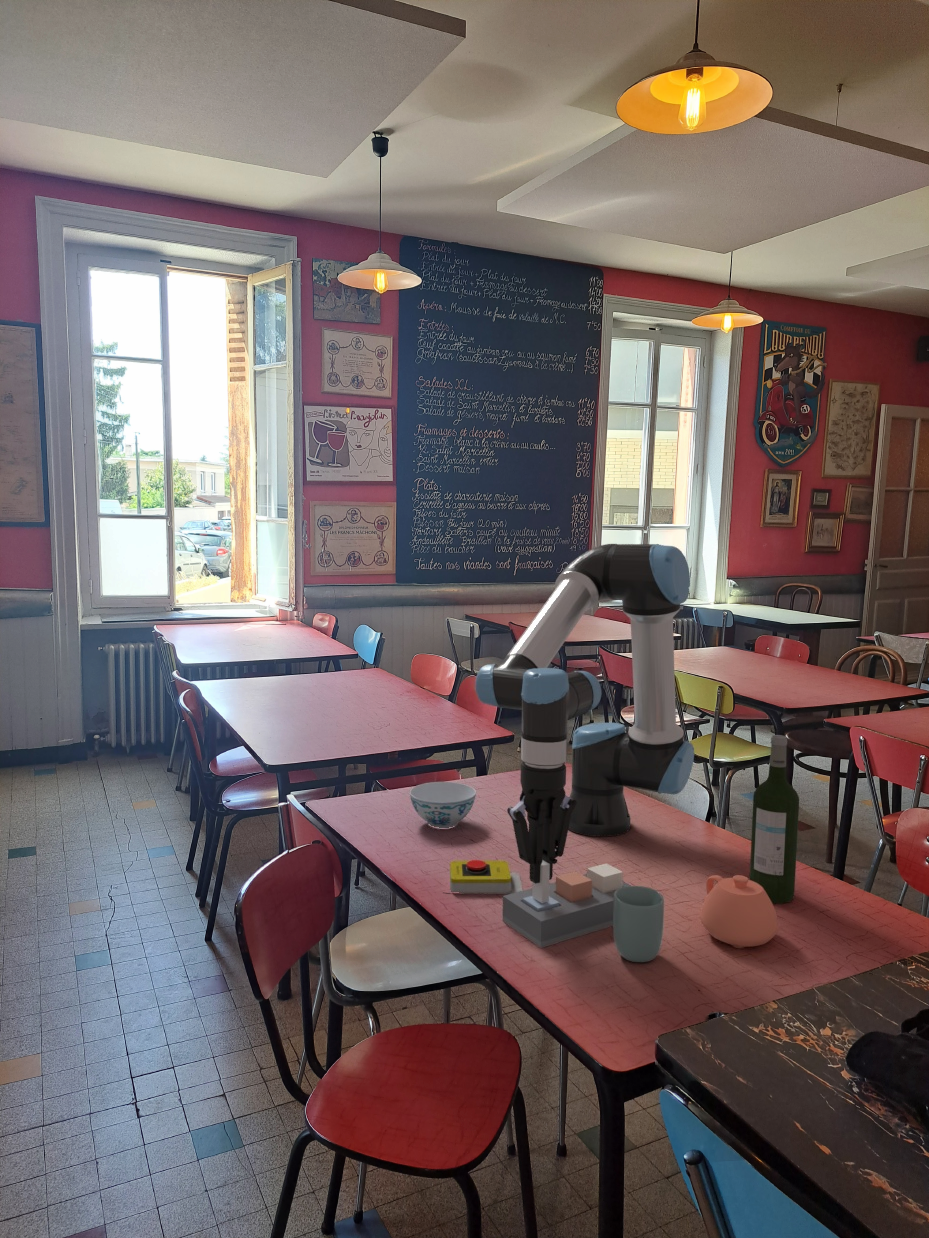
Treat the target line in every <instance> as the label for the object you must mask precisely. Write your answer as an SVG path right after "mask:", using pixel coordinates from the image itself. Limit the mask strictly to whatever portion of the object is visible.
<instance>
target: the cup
mask: <svg viewBox="0 0 929 1238" xmlns="http://www.w3.org/2000/svg"><path fill="white" fill-rule="evenodd" d="M664 923H665V899H664V896H663V894H661V892H659V891H658V890H656V889H654V888H651V887H649V886H648V887H647V886H643V885H642V886H641V885H631V886H626V887H622V888H619V889H617V890H616V891H615V893H614V903H613V926H612V928H613V929H612V930H613V931H612V932H613V940H614V941H613V942H614V945H615V947H616V951H617V952H618V953H619V955H620V956H621V957H623V958H624V959H625V960H627V961H630V962H633V963H647V962H650V961H653V960H654V959H655V958H656V957H657V956H658V954H659V952H660V950H661V946H662V941H663V937H664V936H663V935H664V925H665V924H664Z"/></svg>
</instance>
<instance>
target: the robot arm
mask: <svg viewBox="0 0 929 1238" xmlns="http://www.w3.org/2000/svg"><path fill="white" fill-rule="evenodd" d="M690 573H691V572H690V568H689V564H688V560H687V558H686V556H685V555H684V553H683V552H682V550H681V549H679V548H678V547H677V546H673V545H664V544H658V543H647V544H645V543H639V544H638V543H636V544H635V543H634V544H633V543H630V544H629V543H618V544H617V543H606V544H602V545H599V546H598V545H597V546H596V547H593V548H591V549H589V550H587V551H585V552H584V553H582V554H580V555H579V556H578V557H576V558H575V559H574V560H572V561H571V562H570V563H569V564H568V565H566V567H565V568H564V569H563V570H562V571H561V572H560V574H559V575H558V577H557V578H556V580H555V583H554V588H555V589H554V590H553V592H552V593H551V594H550V596H549V597H548V599H547V600H546V602H544V604H543V606H542V607H541V608H540V610H539V611H538V613H537V614H536V615H535V616H534V618H533V619H532V621H531V622H530V623H529V625H528V626H527V627H526V629H525V630H524V631H523V633H522V634H521V635H520V637H519V638H518V640H517V641H516V642H515V643H514V644H513V647H512V648H511V649H510V650H509V652H508V653H507V655H506V656H505V657H504V658H503V660H502V661H501V663H500V664H498V663H497V664H496V663H492V664H486V665H485V664H484V665H483V666H482V667H480V669H478V672H477V673H476V677H475V681H474V682H475V683H474V688H475V693H476V696H477V699H478V700H479V701H480V702H481V703H482V704H483V705H484V704H485V705H488V706H492V707H497V708H503V709H504V708H505V709H511V710H512V709H513V710H519V711H520V710H521V734H520V735H521V737H520V738H521V739H520V742H521V743H520V750H521V751H520V756H521V757H520V758H521V761H522V762H521V763H520V778H519V780H520V785H521V794H520V795H519V802H517V804H516V805H514V806H508V808H507V811H506V812H507V814H508V815H509V817H510V819H511V820H512V827H513V830H514V831H513V832H514V838H515V841H516V845H517V852H518V856H519V859H520V860H522V861H524V862H525V863H527V864H529V877H528V878H529V880H530V882H532V886H531V887H532V897H533V898H534V899H536V900H537V901H539V902H541V903H545V902H548V901H549V884H550V880H552V879H553V874H554V872H553V871H554V869H553V868H554V867H553V866H554V865H556V864H557V863H558V859H556V858H558V857H562V856H563V855H564V851H565V846H566V844H567V838H568V833H569V831H571V832H573V833H576V834H579V835H584V836H590V837H591V836H593V837H614V836H618V835H623V834H625V833H627V832H629V831H630V828H631V815H630V813H629V808H628V805H627V802H626V801H627V800H626V799H625V795H624V788H625V787H626V788H632V789H638V790H642V791H649V792H654V793H657V794H664V795H665V794H666V795H667V794H668V795H677V794H679V793H681V792H682V791H683V790H684V789H685V787H686V785H687V783H688V782H689V779H690V776H691V773H692V769H693V765H694V761H695V760H694V758H695V748H694V744H693V743H691V742H689V740H685V734H684V732H685V731H684V730H683V728H682V727H681V726H680V725H678V724H677V716H676V715H677V713H676V711H677V709H676V708H677V707H676V681H675V679H676V676H675V675H676V674H675V648H674V647H675V644H674V643H675V642H674V617H675V616H676V615H677V614H678V612H680V610H681V605H682V604H683V603H685V602H686V601H687V600H688V597H689V595H690V587H691V575H690ZM602 600H603V601H604V600H612V601H615V600H616V601H621V602H622V612H623V614H625V615H626V616H627V617H628V618H629V619H630V633H631V634H630V637H631V662H632V663H631V665H632V681H633V682H632V686H633V703H634V706H633V707H634V709H633V710H634V724H633V725H632V726H631V727H630V728H629V729H628V733H627V729H626V726H625V725H624V724H623V723H622V724H621V723H620V722H619V723H618V722H595V723H590V724H585V725H582V726H580V727H578V728H577V729H575V730H574V732H573V734H572V735H573V737H572V746H571V750H572V751H571V754H572V755H571V791H570V794H569V796H567V795H566V791H565V789H564V788H565V787H566V784H567V765H566V764H565V762H567V758H568V757H567V756H568V755H567V753H568V747H567V746H568V721H569V720H571V719H574V718H577V717H580V716H583V715H585V716H586V714H588V713H589V712H590V711H592V710H594V709H595V708H596V707H598V705H599V703H600V701H601V698H602V693H603V692H602V687H601V684H600V681H599V680H598V679H597V677H596V676H595V675H594V674H592V673H591V672H588V671H585V670H573V671H570V672H566V671H565V670H563V669H560V668H554V667H552V668H551V667H549V666H550V664H551V662H552V661H553V660H554V658H555V656H556V655H557V654H558V652H559V650H560V649H561V648H562V646H563V645H564V643H565V642H566V640H567V639H568V638H569V636H570V635H571V633H572V632H573V630H574V629H575V627H576V626H577V625H578V623H579V621H580V620H581V618H582V616H584V614H585V612H586V611H588V610H591V609H593V608H594V607H595V606H596V605H597V603H598V602H600V601H602ZM525 817H526V818H525ZM527 822H528V823H527Z"/></svg>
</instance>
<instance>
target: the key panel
mask: <svg viewBox="0 0 929 1238" xmlns="http://www.w3.org/2000/svg"><path fill="white" fill-rule="evenodd" d="M582 875H583V876H585V877H587V873H586V874H582ZM626 886H632V885H631V884H629V883H627V882H626V881H623V885H622V887H626ZM615 891H616V890H614V891H611V892H607V893H604V894H603V893H601V892H599V891H597V890H596V889H594V888H592V897H589V898H586V899H582V900H579V901H575V902H572V903H571V902H569V901H568V900H566V899H564V898H563V897H561V896H559V895H558V894H556V881H555V882H551V883H550V882H549V896H550V897H551V898H553V899H554V900H556V901H558V902H559V906H557V907H554V908H550V909H547V910H543V911H540V912H537V911H535V910H534V909H532V908H531V907H529V906H528V905H526V904H525V903H523V898H526V897H530V896H532V888H529V889H524V890H523V891H520V892H516V893H512V894H505V895H502V922H503V923H504V924H506V926H507V925H508V926H509V927H510V928H512V929H513V930H514V931H516V932H517V933H519V934H520V935H522V936H523V937H524V938H526V939H528V940H529V941H531V943H533V944H534V945H535V946H537V947H539V948H540V949H542V948H545V947H549V946H552V945H555V944H558V943H561V942H564V941H569V940H571V939H575V938H577V937H578V938H579V937H581V936H584V935H587V934H590V933H594V932H597V931H601V930H603V929H606V928H607V929H608V928H610V927H613V903H614V893H615Z"/></svg>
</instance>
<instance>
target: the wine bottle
mask: <svg viewBox="0 0 929 1238" xmlns="http://www.w3.org/2000/svg"><path fill="white" fill-rule="evenodd" d="M770 745H771V746H770V755H769V764H768V765H769V767H768V768H769V769H768V777H767V779H766V780H764V781H763V782H762V783H760V784H759V785H758V786H757V787H756V788H755V791H754V793H753V801H752V817H751V818H752V819H751V820H752V821H751V838H750V839H751V840H750V841H751V843H750V860H749V861H750V864H749V880H751V881H754V882H756V883H758V884H759V885H760V886H762V887H763V889H764V890H765V892H766V893H767V895H768V897H769V898H770V900H771V902H772V904H778V905H779V904H786V903H787V904H788V903H790V902H791V901H793V900H794V898H795V889H796V871H797V870H796V869H797V866H796V865H797V853H798V851H797V849H798V835H799V834H798V833H799V832H798V829H799V813H800V797H799V794H798V792H797V790H796V789H795V788H794V787H793V786H792V785H791V784H790V783H789V782H788V779H787V745H788V738H787V736H785V735H781V734H773V735H772V736H771V738H770Z"/></svg>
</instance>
